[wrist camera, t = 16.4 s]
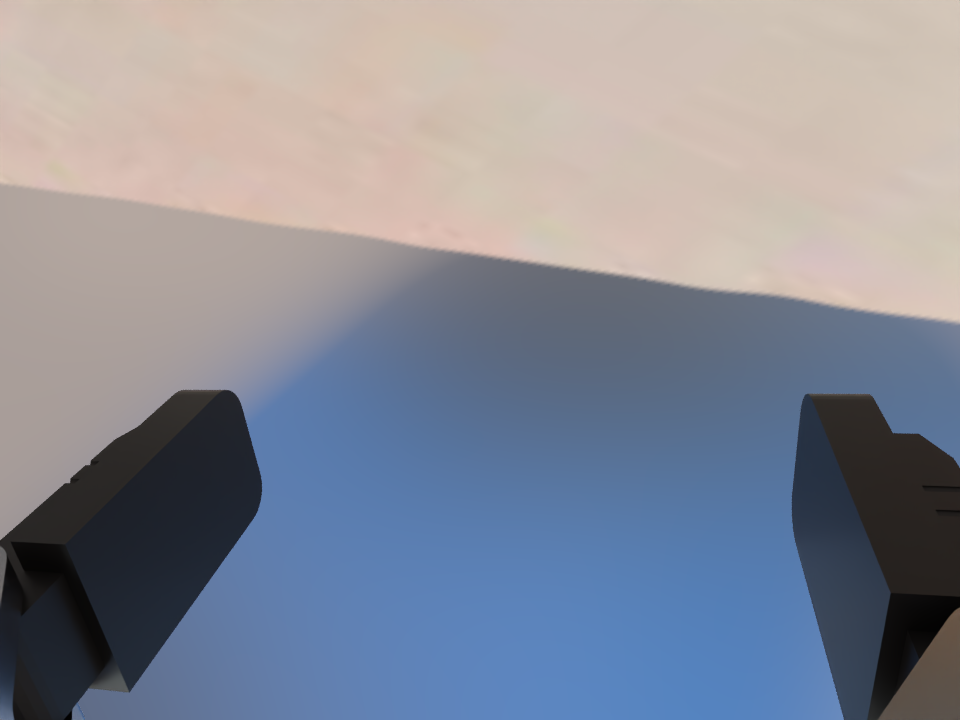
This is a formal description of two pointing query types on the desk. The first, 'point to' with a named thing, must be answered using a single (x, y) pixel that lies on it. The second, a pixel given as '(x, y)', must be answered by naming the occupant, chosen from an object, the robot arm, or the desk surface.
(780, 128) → the desk surface
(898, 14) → the desk surface
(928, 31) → the desk surface
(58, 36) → the desk surface
